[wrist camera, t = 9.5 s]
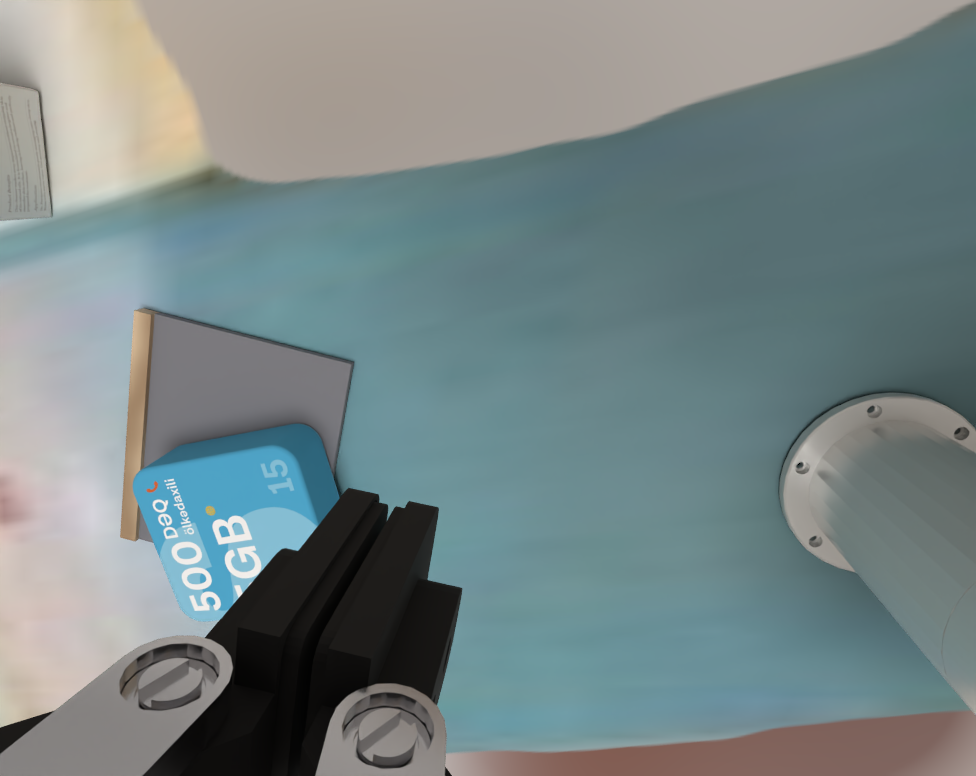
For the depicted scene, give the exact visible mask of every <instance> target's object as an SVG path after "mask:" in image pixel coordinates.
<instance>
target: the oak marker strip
mask: <svg viewBox="0 0 976 776" xmlns="http://www.w3.org/2000/svg"><path fill="white" fill-rule="evenodd" d="M156 313H160V312H156V311H152V310H148V309H145V308H142V309H138V310H134V322H133V338H132V354H131V371H130V387H129V403H128V420H127V436H126V452H125V469H124V485H123V501H122V517H121V534H120V537H121V538H124V539H128V540H132V541H136V540H138V539H139V526H140V512H141V510H140V508H139V505H138V503H137V500H136V498H135V495H134V493H133V480H134V477H135V476H136V474H137V473H138V472H139V471H140V470H142V469H143V468H144V456H145V442H146V428H147V414H148V400H149V386H150V372H151V358H152V344H153V330H154V316H155V314H156Z"/></svg>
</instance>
